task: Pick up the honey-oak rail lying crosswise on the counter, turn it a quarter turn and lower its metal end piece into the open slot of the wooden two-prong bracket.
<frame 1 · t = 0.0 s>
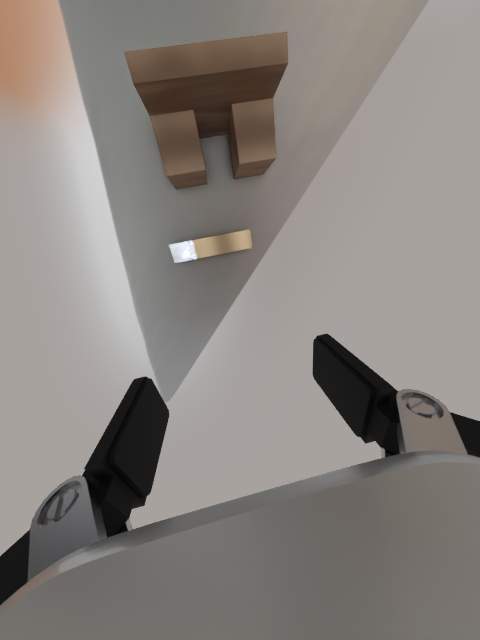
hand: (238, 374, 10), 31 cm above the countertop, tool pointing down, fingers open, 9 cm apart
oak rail: (212, 245, 35), on the countertop
wooden two-prong bracket: (215, 152, 29), on the countertop
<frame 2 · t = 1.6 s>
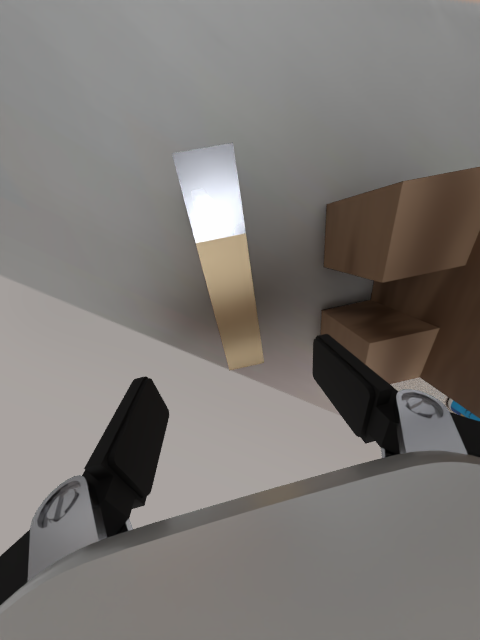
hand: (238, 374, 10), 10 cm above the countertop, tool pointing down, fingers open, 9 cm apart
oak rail: (226, 271, 17), on the countertop
beverage bottle: (466, 392, 32), on the countertop
wooden two-prong bracket: (357, 282, 19), on the countertop
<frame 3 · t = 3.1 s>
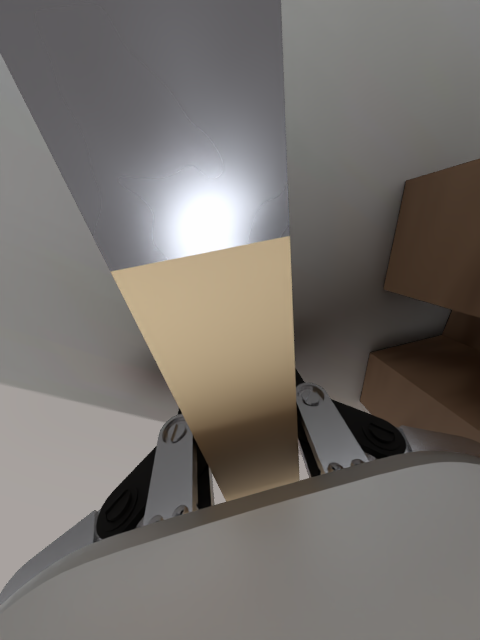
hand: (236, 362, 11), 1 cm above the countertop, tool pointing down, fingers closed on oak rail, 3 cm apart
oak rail: (222, 302, 10), on the countertop, touching gripper
wooden two-prong bracket: (428, 311, 12), on the countertop
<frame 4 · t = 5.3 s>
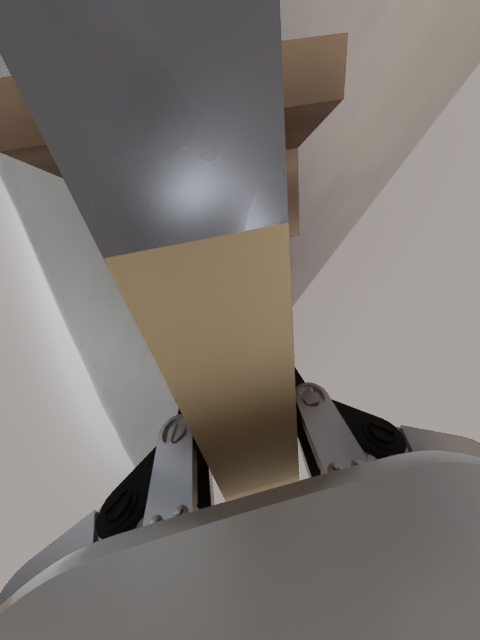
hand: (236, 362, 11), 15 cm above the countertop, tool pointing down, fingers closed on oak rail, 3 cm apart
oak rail: (221, 298, 9), point 14 cm above the countertop, touching gripper
wooden two-prong bracket: (203, 211, 20), on the countertop
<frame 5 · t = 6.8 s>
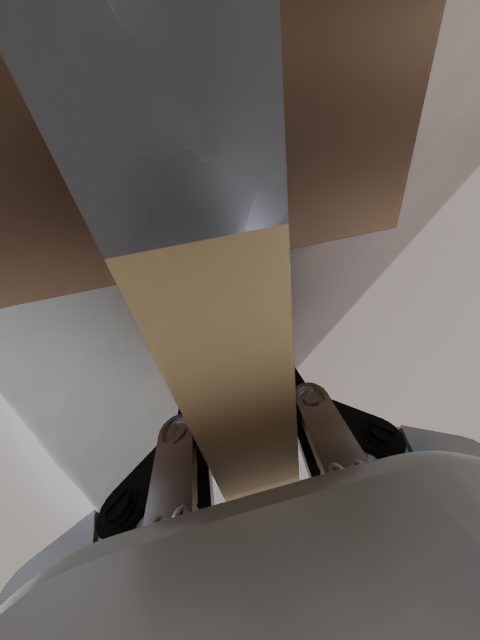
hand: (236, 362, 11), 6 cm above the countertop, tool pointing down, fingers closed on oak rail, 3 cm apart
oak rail: (221, 299, 9), point 5 cm above the countertop, touching gripper
wooden two-prong bracket: (196, 187, 11), on the countertop
when the fingers open (2 cm above the countertop, at t = 7.8 s): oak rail drops 1 cm, on the countertop.
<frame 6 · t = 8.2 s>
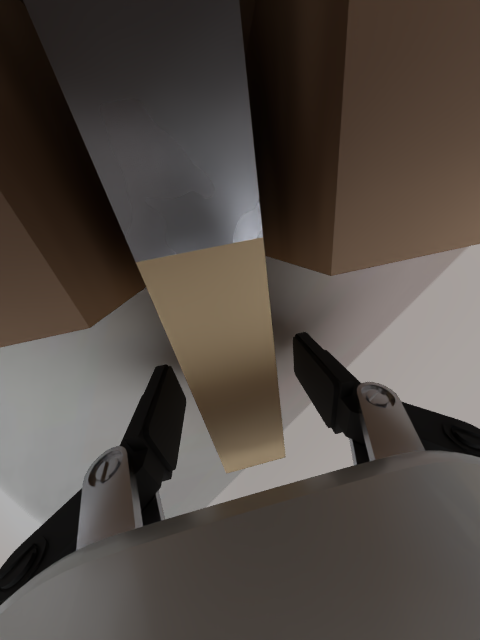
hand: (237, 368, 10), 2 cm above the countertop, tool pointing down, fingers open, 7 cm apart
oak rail: (219, 295, 11), on the countertop
wooden two-prong bracket: (192, 172, 8), on the countertop
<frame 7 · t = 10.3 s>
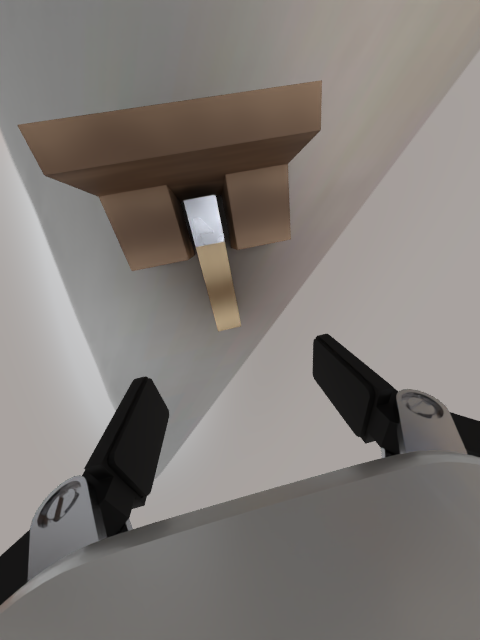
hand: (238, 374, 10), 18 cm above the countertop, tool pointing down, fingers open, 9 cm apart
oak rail: (215, 266, 24), on the countertop
wooden two-prong bracket: (205, 217, 21), on the countertop
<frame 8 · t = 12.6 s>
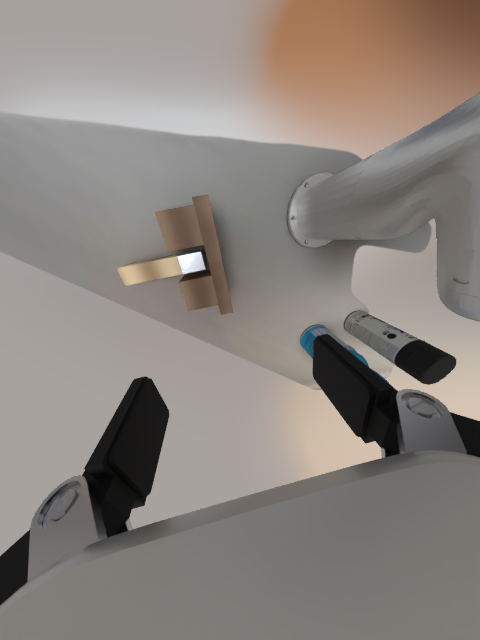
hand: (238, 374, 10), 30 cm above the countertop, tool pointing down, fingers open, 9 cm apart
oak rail: (170, 264, 35), on the countertop
spray can: (353, 321, 48), on the countertop
beverage bottle: (313, 336, 48), on the countertop
wooden two-prong bracket: (199, 258, 35), on the countertop
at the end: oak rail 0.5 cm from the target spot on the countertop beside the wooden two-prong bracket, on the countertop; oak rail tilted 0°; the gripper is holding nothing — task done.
